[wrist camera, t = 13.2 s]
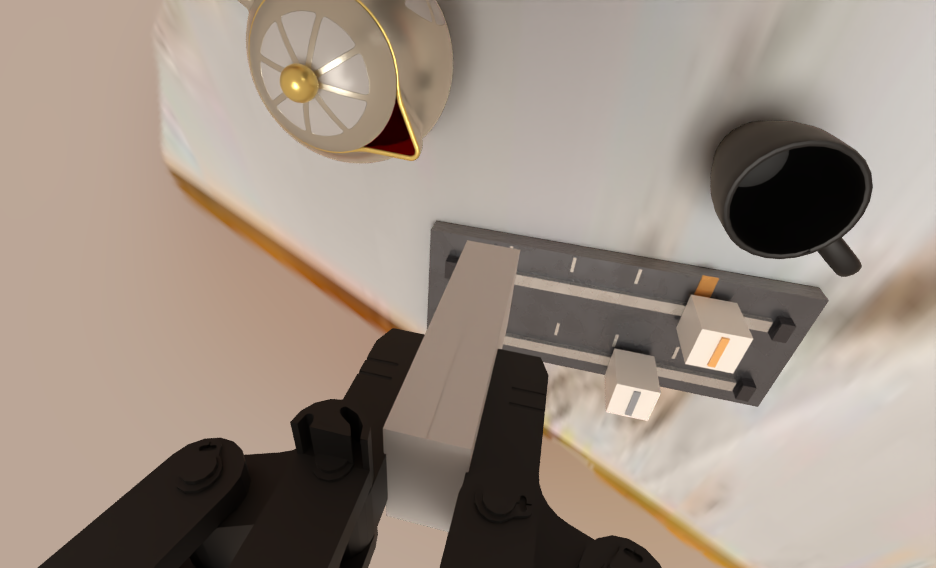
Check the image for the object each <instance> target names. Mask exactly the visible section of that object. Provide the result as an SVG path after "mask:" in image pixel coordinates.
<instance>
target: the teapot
mask: <svg viewBox="0 0 936 568" xmlns="http://www.w3.org/2000/svg"><path fill="white" fill-rule="evenodd" d="M238 1H239V2H240V3H241V4H243V5H244V6H245V7H246V8H247V9H248V11H249V16H248V21H247V30H246V49H247V58H248V63H249V68H250V72H251V76H252V79H253V82H254V84H255V87H256V89H257V92H258V94H259V96H260V98H261V100H262V101H263V103H264V105H265V107H266V108H267V110H268V111H269V113H270V114H271V115H272V117H273V118H274V119H275V121H276V122H277V123H278V124H279V125H280V126H281V127H282V128H283V129H284V130H285V131H286V132H287V133H288V134H289V135H290V136H291V137H292V138H294V139H295V140H296V141H297V142H299V143H300V144H302V145H303V146H305V147H306V148H308V149H310V150H312V151H313V152H315V153H317V154H320V155H322V156H325V157H327V158H330V159H333V160H337V161H342V162H348V163H374V162H380V161H384V160H387V159H390V158H393V157H394V158H399V159H404V160H409V161H414V160H416V159H417V158H418V157H419V156H420V154H421V151H422V146H423V141H422V139H423V138H424V137H425V136H426V135H427V134H428V133H429V132H430V130H431V129H432V128H433V126H434V125H435V124H436V122H437V120H438V119H439V117H440V115H441V113H442V111H443V109H444V107H445V105H446V102H447V99H448V96H449V92H450V88H451V83H452V76H453V51H452V44H451V38H450V34H449V30H448V27H447V24H446V21H445V18H444V15H443V13H442V11H441V9H440V7H439V5H438V3H437V1H436V0H238Z"/></svg>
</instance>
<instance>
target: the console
mask: <svg viewBox="0 0 936 568" xmlns="http://www.w3.org/2000/svg"><path fill="white" fill-rule="evenodd" d="M467 240H468V241H474V242H479V243H485V244H491V245H496V246H502V247H508V248H513V249H519V250H520V254H519V260H518V266H517V272H516V278H515V283H514V289H513V295H512V301H511V307H510V313H509V319H508V325H507V330H506V334H505V338H504V343H503V347H502V349H503V350H508V351H513V352H517V353H522V354H527V355H532V356H537V357H541V359H542V361H543V362H546V363H551V364H555V365H560V366H565V367H570V368H575V369H579V370H584V371H589V372H594V373H599V374H603V375H605V373H606V370H607V368H608V365H609V362H610V359H611V356H612V354H613V351H614V348H615V349H620V350H625V351H630V352H635V353H640V354H645V355H650V356H654V357H655V362H656V368H657V374H658V380H659V385H660V386H661V387H666V388H670V389H675V390H680V391H685V392H689V393H694V394H699V395H704V396H709V397H713V398H718V399H723V400H728V401H733V402H737V403H742V404H747V405H752V406H756V407H758V406H759V404H760V403H761V401H762V400H763V398H764V397H765V395H766V394H767V392H768V391H769V389H770V388H771V386H772V385H773V383H774V382H775V380H776V379H777V377H778V376H779V374H780V373H781V371H782V370H783V368H784V367H785V365H786V364H787V362H788V361H789V359H790V358H791V356H792V355H793V353H794V352H795V350H796V349H797V347H798V346H799V344H800V343H801V341H802V340H803V338H804V337H805V335H806V334H807V332H808V331H809V329H810V328H811V326H812V325H813V323H814V322H815V320H816V319H817V317H818V316H819V314H820V313H821V311H822V310H823V308H824V307H825V305H826V304H827V302H828V301H829V300H828V299H827V297H826V296H825V295H824V293H823V292H822V291H821V289H820V288H818V287H812V286H806V285H801V284H795V283H789V282H783V281H778V280H772V279H766V278H761V277H755V276H749V275H743V274H738V273H732V272H726V271H721V270H715V269H709V268H703V267H698V266H692V265H686V264H680V263H675V262H669V261H663V260H658V259H652V258H646V257H640V256H635V255H629V254H623V253H618V252H612V251H606V250H600V249H595V248H589V247H583V246H578V245H572V244H566V243H560V242H555V241H549V240H543V239H538V238H532V237H526V236H520V235H515V234H509V233H503V232H498V231H492V230H486V229H480V228H475V227H469V226H463V225H458V224H452V223H446V222H440V221H436V222H435V224H434V226H433V227H432V229H431V243H430V268H429V293H428V318H427V329H428V327H429V325H430V322H431V320H432V318H433V316H434V313H435V311H436V309H437V307H438V304H439V302H440V300H441V298H442V296H443V293H444V291H445V289H446V287H447V284H448V282H449V280H450V278H451V276H452V273H453V271H454V269H455V267H456V264H457V262H458V260H459V258H460V255H461V253H462V251H463V249H464V247H465V244H466V242H467ZM691 295H696V296H702V297H707V298H713V299H718V300H724V301H729V302H735V303H737V304H738V306H739V308H740V310H741V313H742V315H743V317H744V319H745V321H746V324H747V326H748V328H749V330H750V332H751V335H752V337H753V340H752V342H751V344H750V345H749V347H748V349H747V351H746V352H745V354H744V356H743V357H742V359H741V361H740V363H739V364H738V366H737V368H736V369H735V371H734V373H728V372H723V371H718V370H713V369H708V368H703V367H698V366H693V365H688V364H685V362H684V358H683V354H682V350H681V346H680V342H679V338H678V334H677V329H676V327H677V325H678V323H679V320H680V318H681V316H682V314H683V312H684V309H685V307H686V305H687V303H688V300H689V298H690V296H691Z"/></svg>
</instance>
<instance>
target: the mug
mask: <svg viewBox="0 0 936 568" xmlns="http://www.w3.org/2000/svg"><path fill="white" fill-rule="evenodd" d="M872 188H873V185H872V175H871V171H870V169H869V167H868V165H867V162H866V160H865V159H864V158H863V157H862V156H861V155H860V154H859V153H858V152H857V151H856V150H855V149H853V148H852V147H850V146H849V145H847V144H846V143H844V142H843V141H841V140H840V139H838V138H836V137H835V136H833V135H831V134H829V133H828V132H826V131H824V130H822V129H820V128H817V127H814V126H810V125H806V124H802V123H798V122H793V121H755V122H750V123H747V124H744V125H742V126H740V127H738V128H736V129H735V130H733V131H732V132H730V133H729V134H728V135H727V136H726V137H725V138H724V139H723V140H722V142H721V143H720V144H719V146H718V148H717V150H716V152H715V156H714V162H713V166H712V170H711V196H712V200H713V204H714V208H715V211H716V214H717V216H718V218H719V219H720V221H721V223H722V225H723V227H724V229H725V231H726V232H727V234H728V235H729V237H730V239H731V240H732V241H733V242H734V243H735V244H736V245H737V246H739V247H740V248H741V249H743V250H745V251H747V252H749V253H751V254H753V255H757V256H760V257H764V258H773V259H786V258H796V257H800V256H804V255H808V254H811V253H814V252H816V251H818V253H819V254H820V255H821V256H822V257H823V259H824V260H825V261H826V262H827V264H828V265H829V266H830V267H831V268H832V269H833V271H834V272H835V273H836V274H837V275H839V276H841V277H846V276H850V275H853V274H855V273H857V272H858V271H859V270H860V269H861V267H862V266H861V262H860V261H859V259H858V258H857V257H856V255H855V254H854V253H853V251H852V250H851V249H850V247H849V246H848V245H847V244H846V242H845V241H844V240H843V238H842V237H843V236H844V235H845V234H846V233H847V232H848V231H850V230H851V229H852V228H853V227H854V226H855V224H856V223H857V222H858V221H859V219H860V218H861V217H862V216H863V214H864V212H865V210H866V208H867V206H868V204H869V202H870V198H871V193H872Z"/></svg>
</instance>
